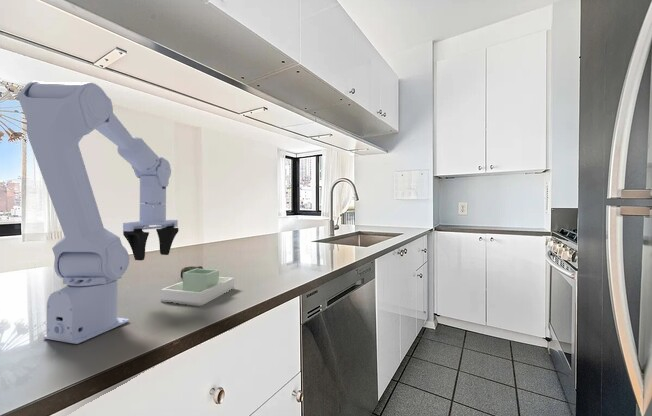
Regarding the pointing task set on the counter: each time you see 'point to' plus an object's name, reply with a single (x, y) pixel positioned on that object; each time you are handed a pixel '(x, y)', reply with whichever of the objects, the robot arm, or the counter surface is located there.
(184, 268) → the tape measure
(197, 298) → the white shallow tray
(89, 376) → the counter surface
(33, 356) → the counter surface
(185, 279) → the small crate
